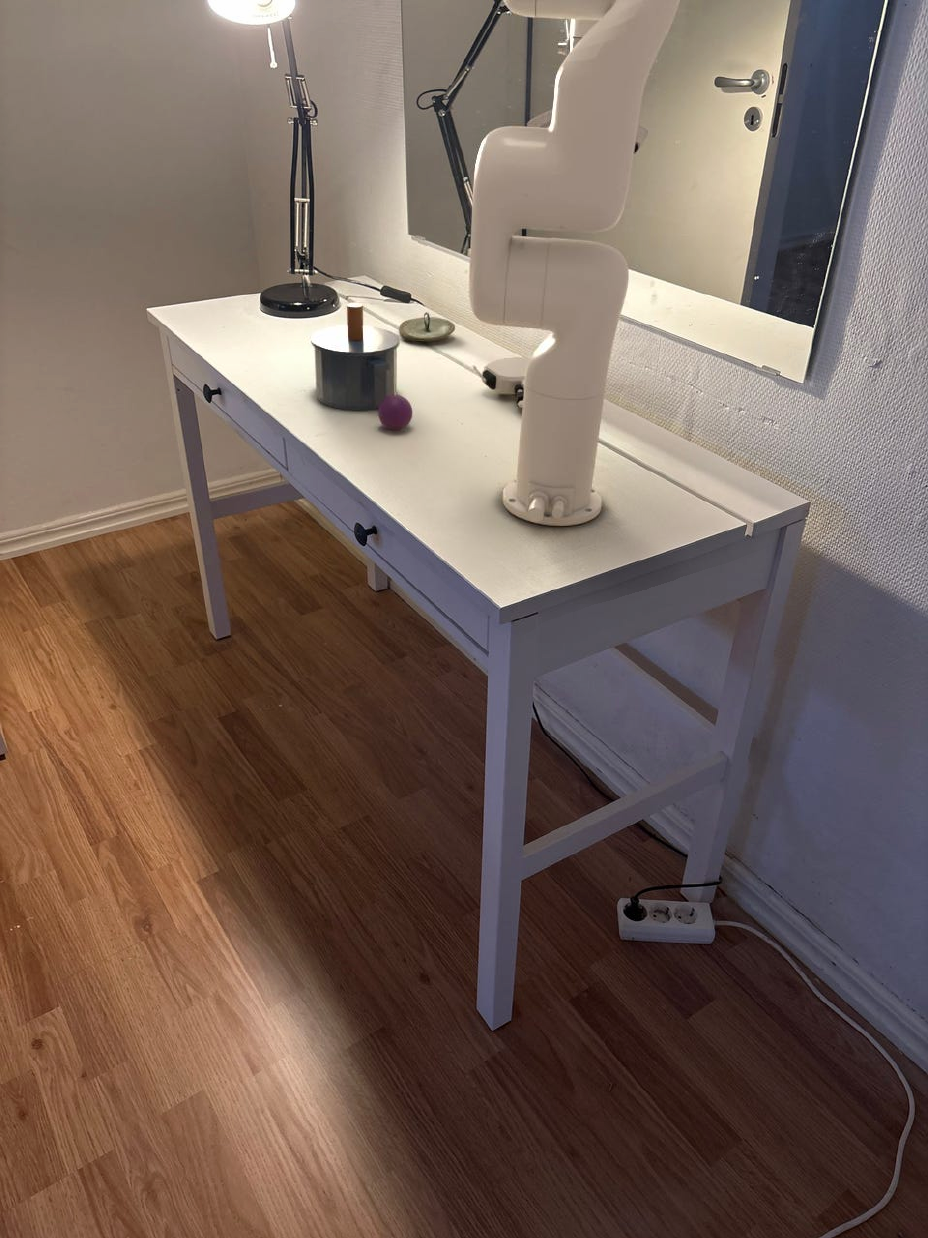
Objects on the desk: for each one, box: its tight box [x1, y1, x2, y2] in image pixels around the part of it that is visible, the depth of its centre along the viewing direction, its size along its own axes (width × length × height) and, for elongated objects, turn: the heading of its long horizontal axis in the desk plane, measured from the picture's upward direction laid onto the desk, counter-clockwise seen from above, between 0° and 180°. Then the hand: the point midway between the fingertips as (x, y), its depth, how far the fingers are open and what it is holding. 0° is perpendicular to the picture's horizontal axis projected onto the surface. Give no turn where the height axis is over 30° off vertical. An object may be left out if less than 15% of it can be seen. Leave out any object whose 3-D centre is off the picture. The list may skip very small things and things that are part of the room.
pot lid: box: [310, 302, 401, 357], centre depth 139 cm, size 13×13×6 cm
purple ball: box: [377, 394, 413, 431], centre depth 134 cm, size 5×5×5 cm
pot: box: [313, 346, 398, 411], centre depth 143 cm, size 12×18×8 cm
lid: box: [398, 311, 456, 342], centre depth 171 cm, size 11×10×5 cm
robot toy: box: [472, 356, 530, 409], centre depth 147 cm, size 12×4×15 cm
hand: (580, 189), depth 137 cm, fingers open, 9 cm apart
